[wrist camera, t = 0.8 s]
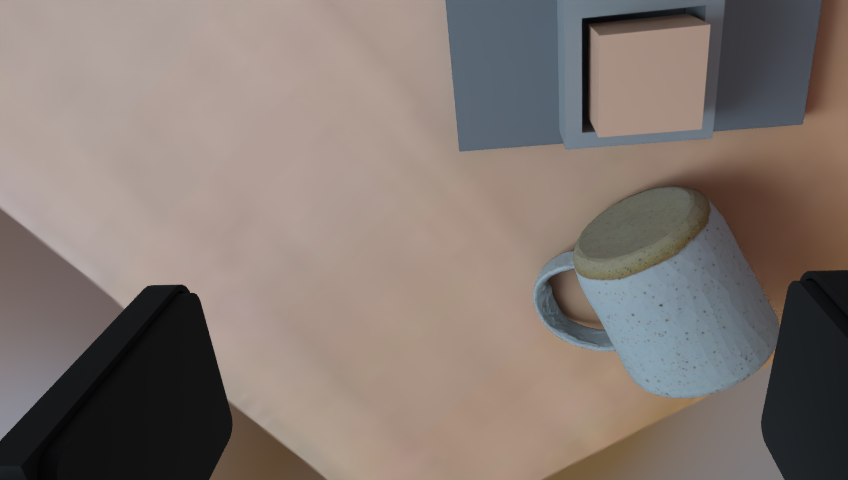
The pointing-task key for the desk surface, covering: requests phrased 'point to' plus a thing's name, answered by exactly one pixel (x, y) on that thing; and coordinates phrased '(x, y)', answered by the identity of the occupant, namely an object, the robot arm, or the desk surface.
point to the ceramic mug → (666, 295)
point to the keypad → (568, 67)
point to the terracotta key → (647, 75)
